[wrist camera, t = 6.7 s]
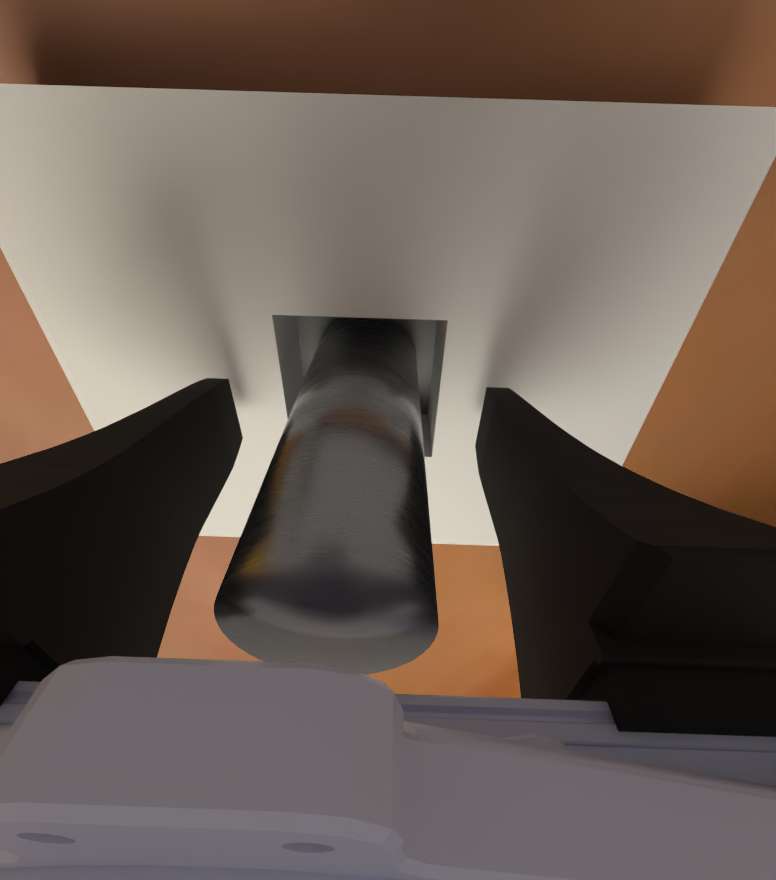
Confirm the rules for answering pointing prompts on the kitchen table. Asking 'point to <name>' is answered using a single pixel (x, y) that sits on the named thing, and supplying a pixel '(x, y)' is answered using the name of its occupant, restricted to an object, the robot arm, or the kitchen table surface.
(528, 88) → the kitchen table surface
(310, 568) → the steel pin
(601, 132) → the grey hole plate
